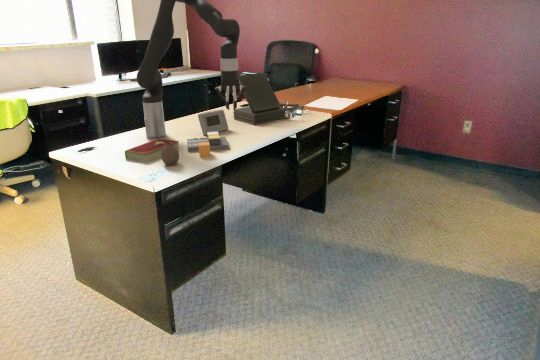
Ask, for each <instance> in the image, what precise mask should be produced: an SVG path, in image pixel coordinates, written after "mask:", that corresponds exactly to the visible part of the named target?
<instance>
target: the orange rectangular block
mask: <svg viewBox="0 0 540 360" xmlns="http://www.w3.org/2000/svg"><path fill="white" fill-rule="evenodd" d="M198 144H199V151H198V154H199V158H205V157H211V150H210V144H209V142H203V143H198Z"/></svg>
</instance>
